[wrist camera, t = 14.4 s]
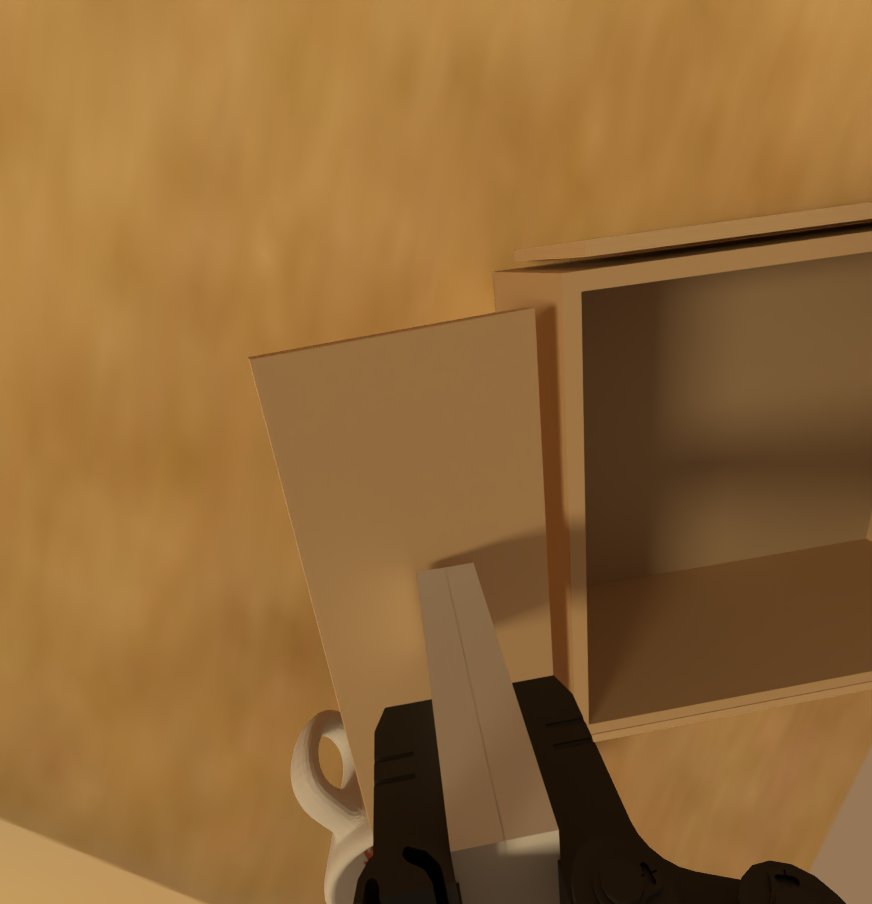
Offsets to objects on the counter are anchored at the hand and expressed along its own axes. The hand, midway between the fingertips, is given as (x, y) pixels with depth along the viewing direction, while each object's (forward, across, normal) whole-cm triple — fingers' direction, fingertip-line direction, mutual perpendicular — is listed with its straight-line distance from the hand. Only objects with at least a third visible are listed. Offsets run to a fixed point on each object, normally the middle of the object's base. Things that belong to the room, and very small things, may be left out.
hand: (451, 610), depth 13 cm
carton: (+10, +14, 0) cm, 17 cm away
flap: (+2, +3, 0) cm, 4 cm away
